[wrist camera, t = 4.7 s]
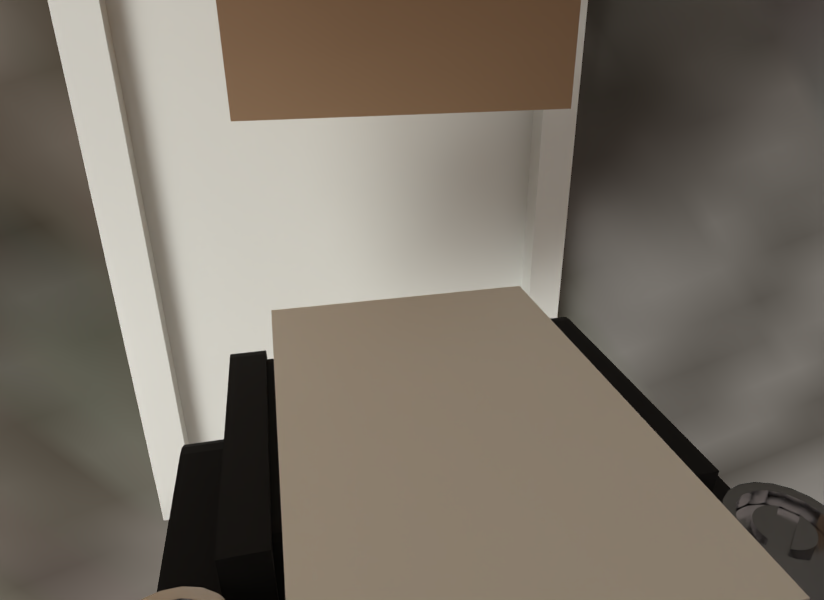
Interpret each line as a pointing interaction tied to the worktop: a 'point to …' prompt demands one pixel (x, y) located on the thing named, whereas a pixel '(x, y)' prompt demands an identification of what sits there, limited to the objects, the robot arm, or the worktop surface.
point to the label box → (484, 465)
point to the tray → (283, 205)
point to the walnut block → (396, 56)
